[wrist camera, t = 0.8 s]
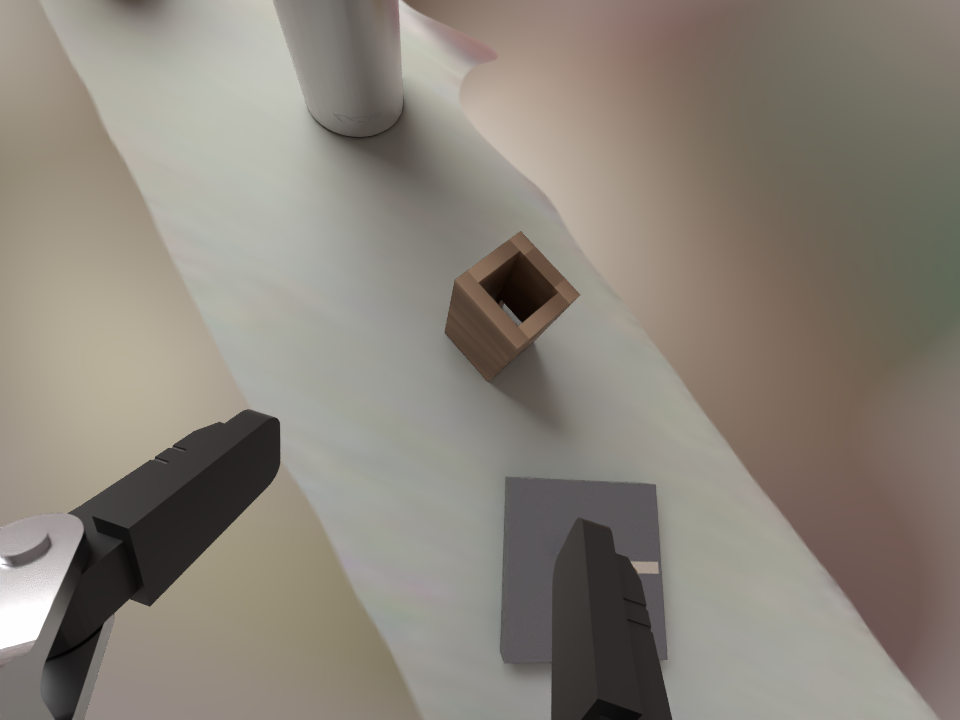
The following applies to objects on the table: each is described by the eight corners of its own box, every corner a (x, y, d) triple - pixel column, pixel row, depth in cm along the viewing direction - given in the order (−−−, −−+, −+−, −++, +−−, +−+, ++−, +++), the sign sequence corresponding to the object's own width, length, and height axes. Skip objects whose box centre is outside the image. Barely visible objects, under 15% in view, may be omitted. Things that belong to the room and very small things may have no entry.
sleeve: (487, 381, 31) (517, 349, 22) (444, 332, 32) (454, 279, 22) (533, 341, 33) (580, 294, 23) (491, 295, 33) (520, 231, 24)
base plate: (500, 652, 26) (524, 712, 20) (505, 476, 30) (528, 482, 23) (654, 649, 28) (721, 704, 22) (644, 483, 31) (700, 490, 25)
